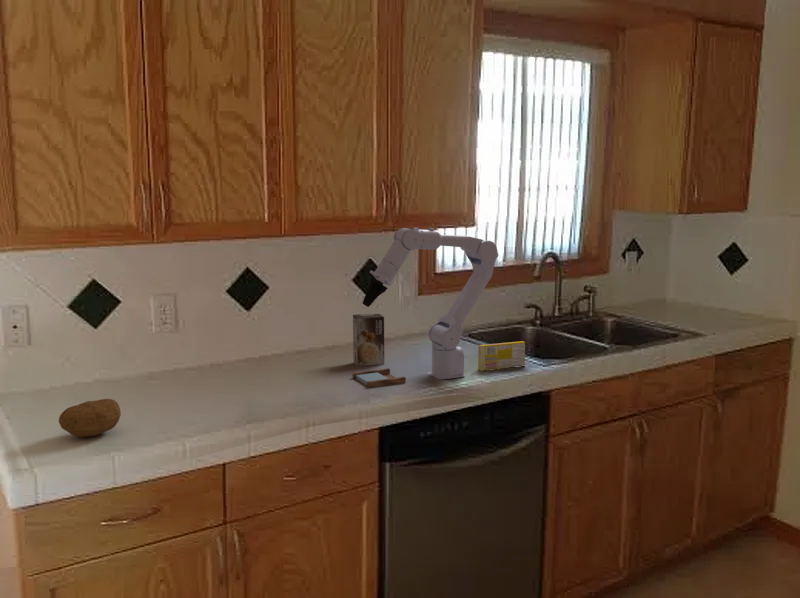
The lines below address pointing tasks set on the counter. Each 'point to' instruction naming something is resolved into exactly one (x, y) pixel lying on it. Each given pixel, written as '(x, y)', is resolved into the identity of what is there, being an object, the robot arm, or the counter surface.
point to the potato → (90, 418)
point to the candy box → (501, 355)
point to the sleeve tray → (383, 382)
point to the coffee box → (368, 339)
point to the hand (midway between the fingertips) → (365, 304)
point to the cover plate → (369, 377)
